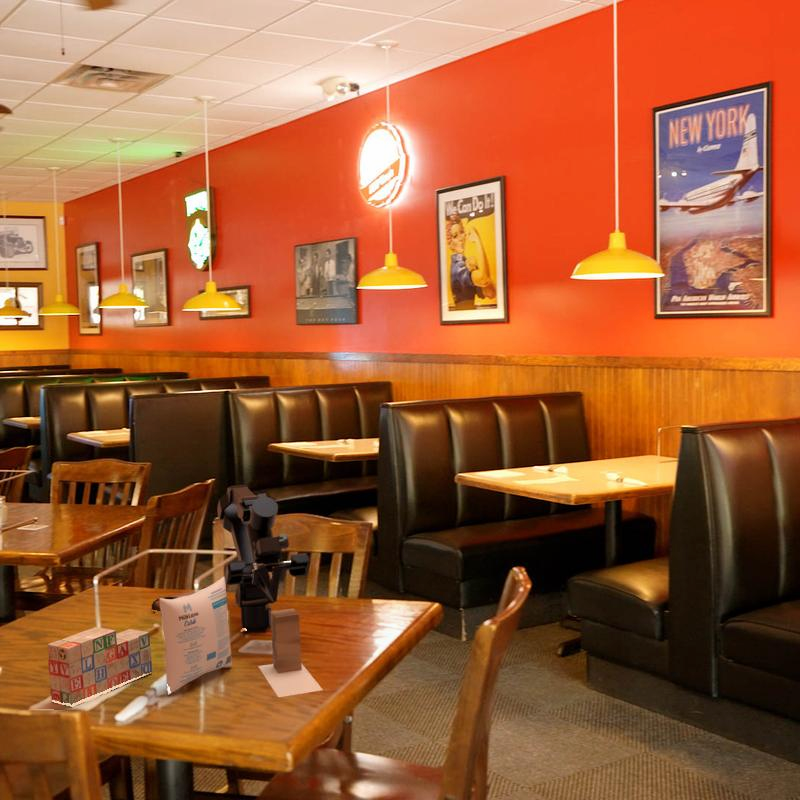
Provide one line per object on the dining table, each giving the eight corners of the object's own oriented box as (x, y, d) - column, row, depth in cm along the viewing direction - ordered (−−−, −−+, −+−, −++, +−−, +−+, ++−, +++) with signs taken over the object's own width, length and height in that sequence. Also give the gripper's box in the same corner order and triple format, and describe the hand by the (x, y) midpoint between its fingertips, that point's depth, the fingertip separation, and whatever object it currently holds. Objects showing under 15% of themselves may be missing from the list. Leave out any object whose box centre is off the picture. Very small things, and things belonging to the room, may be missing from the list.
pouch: (246, 670, 214) (241, 578, 212) (177, 699, 198) (171, 600, 197) (219, 664, 218) (214, 574, 217) (151, 692, 203) (145, 595, 202)
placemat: (258, 667, 215) (258, 666, 215) (298, 661, 218) (298, 659, 218) (278, 699, 196) (278, 697, 196) (322, 691, 199) (322, 689, 199)
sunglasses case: (170, 617, 256) (161, 593, 258) (157, 627, 260) (148, 603, 262) (226, 601, 269) (217, 579, 271) (213, 611, 274) (204, 588, 275)
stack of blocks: (132, 670, 217) (129, 614, 217) (153, 674, 214) (149, 618, 213) (50, 703, 200) (46, 643, 199) (71, 709, 196) (67, 647, 195)
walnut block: (273, 666, 215) (270, 611, 214) (296, 662, 216) (293, 608, 215) (278, 673, 210) (275, 617, 209) (301, 669, 211) (298, 614, 211)
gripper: (224, 526, 222) (236, 587, 212) (306, 518, 228) (321, 576, 218) (220, 554, 230) (231, 614, 220) (299, 545, 236) (313, 602, 226)
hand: (274, 601), depth 221 cm, fingers closed
